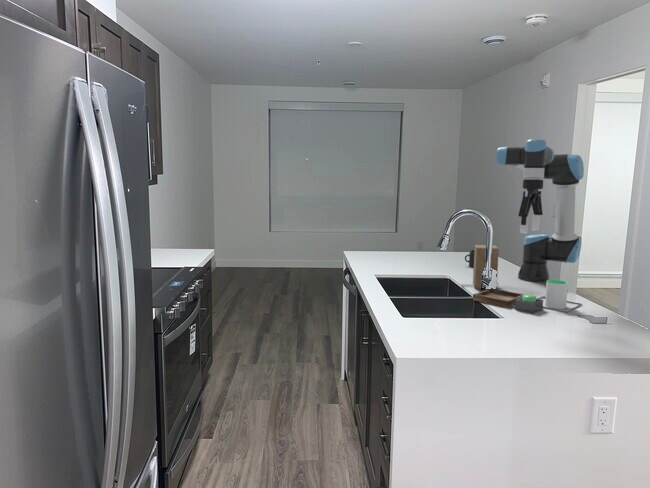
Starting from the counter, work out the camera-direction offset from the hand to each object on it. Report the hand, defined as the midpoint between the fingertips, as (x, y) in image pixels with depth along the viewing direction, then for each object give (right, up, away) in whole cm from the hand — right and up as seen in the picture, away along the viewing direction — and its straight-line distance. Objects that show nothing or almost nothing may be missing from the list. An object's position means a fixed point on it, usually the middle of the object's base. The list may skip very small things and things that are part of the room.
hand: (529, 232), depth 199 cm
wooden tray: (-7, -30, +16) cm, 34 cm away
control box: (0, -32, +2) cm, 32 cm away
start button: (0, -31, +2) cm, 31 cm away
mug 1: (+6, -18, +91) cm, 93 cm away
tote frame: (+14, -31, +9) cm, 35 cm away
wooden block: (-5, -26, +40) cm, 48 cm away
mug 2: (+14, -31, +9) cm, 35 cm away
